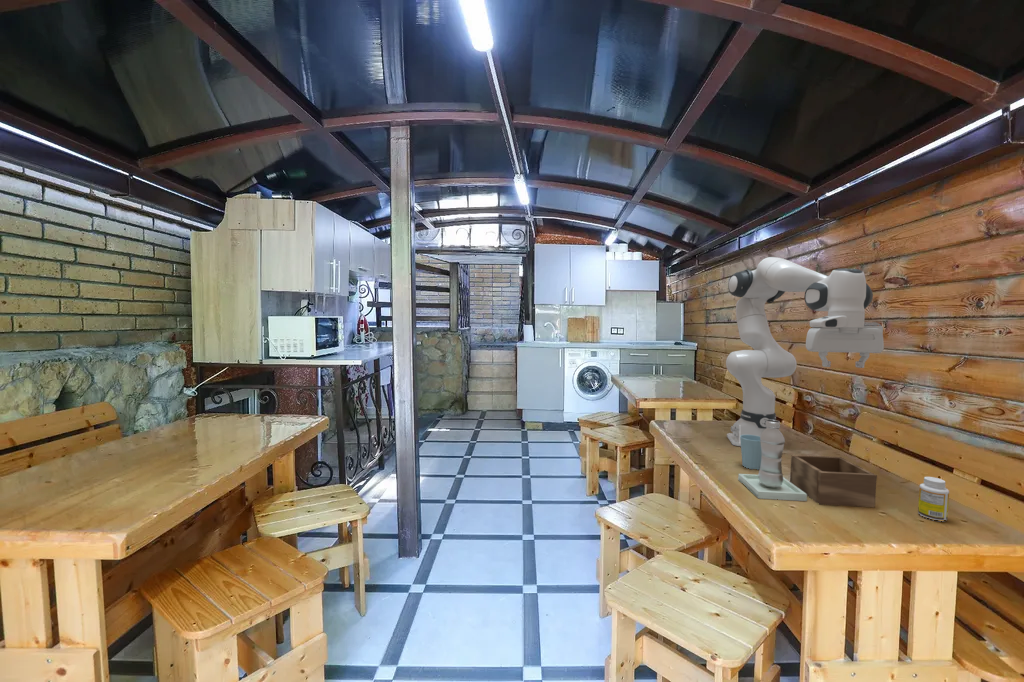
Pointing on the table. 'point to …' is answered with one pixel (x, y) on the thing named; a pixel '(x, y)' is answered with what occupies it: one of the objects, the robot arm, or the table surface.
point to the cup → (751, 451)
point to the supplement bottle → (933, 499)
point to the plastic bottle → (771, 455)
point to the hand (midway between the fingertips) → (842, 367)
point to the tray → (772, 489)
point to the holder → (833, 480)
